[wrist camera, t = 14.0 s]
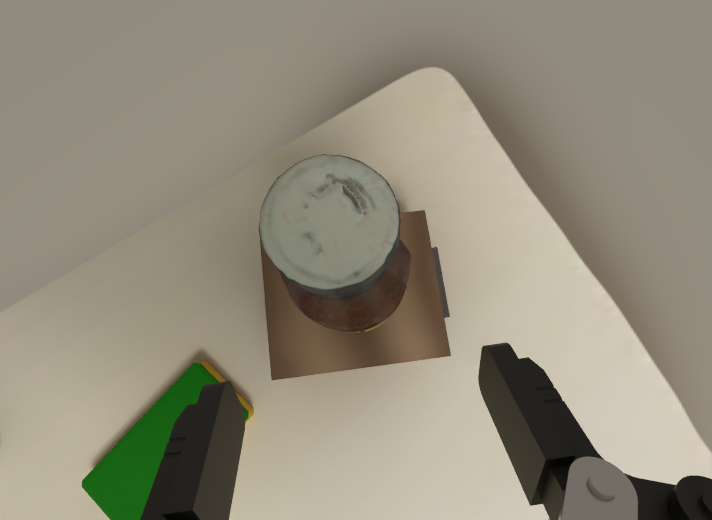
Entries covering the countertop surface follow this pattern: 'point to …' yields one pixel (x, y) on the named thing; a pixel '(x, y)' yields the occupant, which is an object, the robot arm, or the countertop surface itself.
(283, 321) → the walnut box
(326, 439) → the countertop surface
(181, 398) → the dish sponge
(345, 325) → the sauce bottle
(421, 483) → the countertop surface
